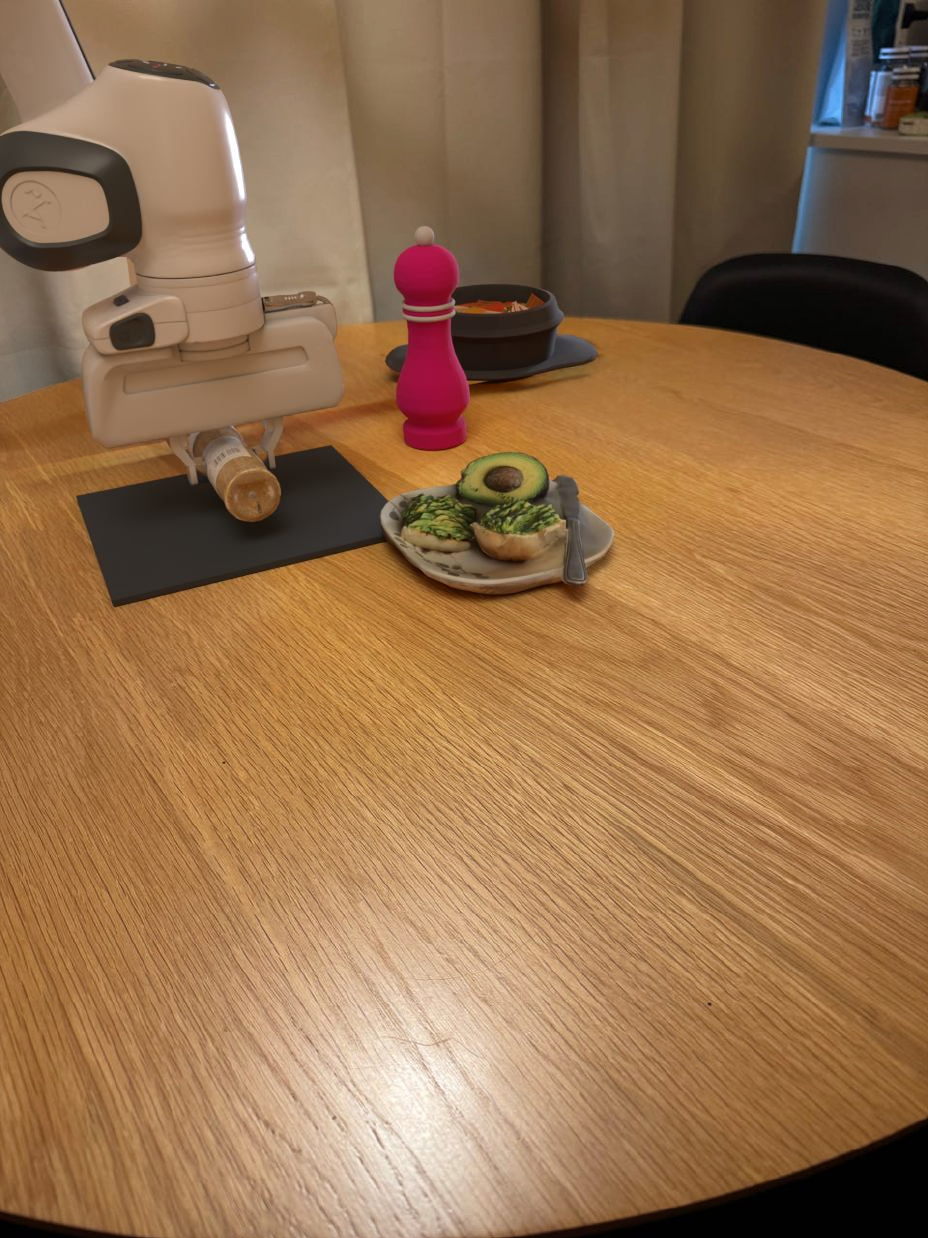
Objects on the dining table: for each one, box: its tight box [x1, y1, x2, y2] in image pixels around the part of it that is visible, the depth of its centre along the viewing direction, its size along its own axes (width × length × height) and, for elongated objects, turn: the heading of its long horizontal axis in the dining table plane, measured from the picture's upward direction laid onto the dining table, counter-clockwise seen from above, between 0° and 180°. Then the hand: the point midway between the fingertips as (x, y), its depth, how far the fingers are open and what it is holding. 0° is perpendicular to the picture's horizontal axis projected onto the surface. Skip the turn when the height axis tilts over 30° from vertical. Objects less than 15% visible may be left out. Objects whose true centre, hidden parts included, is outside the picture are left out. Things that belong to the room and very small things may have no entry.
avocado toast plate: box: [380, 451, 615, 595], centre depth 75 cm, size 19×18×5 cm
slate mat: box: [75, 444, 389, 607], centre depth 83 cm, size 24×21×1 cm
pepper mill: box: [393, 225, 471, 451], centre depth 92 cm, size 7×7×20 cm
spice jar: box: [187, 426, 281, 522], centre depth 80 cm, size 5×5×13 cm
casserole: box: [384, 283, 598, 385], centre depth 113 cm, size 25×19×8 cm
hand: (232, 475), depth 81 cm, fingers closed on spice jar, 4 cm apart
